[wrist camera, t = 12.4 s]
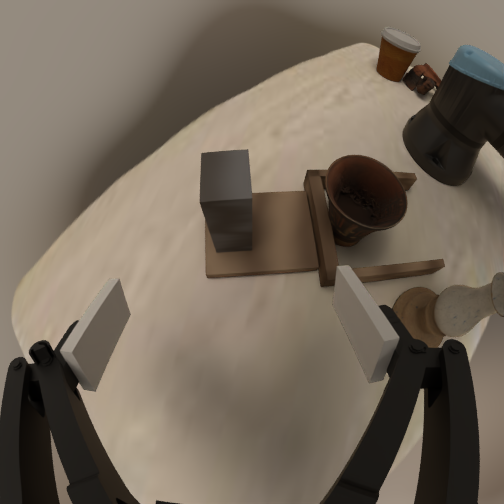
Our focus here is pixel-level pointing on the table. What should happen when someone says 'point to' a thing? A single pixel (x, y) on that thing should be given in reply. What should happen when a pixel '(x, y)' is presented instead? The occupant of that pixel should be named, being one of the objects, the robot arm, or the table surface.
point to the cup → (362, 198)
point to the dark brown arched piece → (422, 84)
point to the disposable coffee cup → (396, 53)
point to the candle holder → (448, 309)
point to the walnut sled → (277, 226)
